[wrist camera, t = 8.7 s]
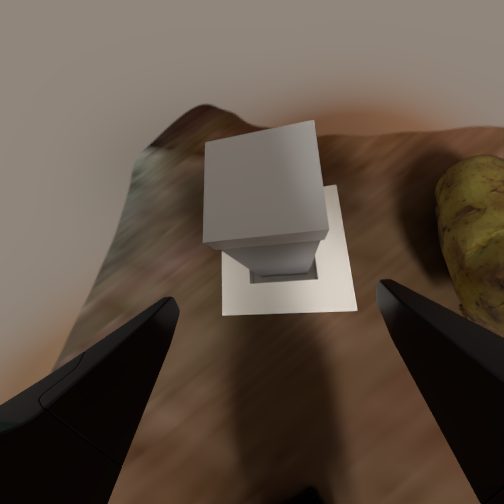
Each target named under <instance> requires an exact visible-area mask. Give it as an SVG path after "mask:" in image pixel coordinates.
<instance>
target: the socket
mask: <svg viewBox="0 0 504 504" xmlns="http://www.w3.org/2000/svg"><path fill="white" fill-rule="evenodd" d="M323 188H324V196H325V203H326V210H327V217H328V224H329V231H328V233H327V236H326V238H325V240H321V241H320V243H319V246H318V248H317V251H316V254H315V256H314V259H313V261H312V264H311V266H310V269H309V272H308V274H301V275H285V276H270V277H260V276H258V275H257V274H255V273H254V272H252V271H251V270H249V269H248V268H246V267H245V266H243V265H242V264H240V263H239V262H238V261H236V260H235V259H233V258H232V257H230V256H229V255H227V254H226V253H224V252H223V251H222V316H225V315H253V314H281V313H310V312H338V311H357V305H356V299H355V293H354V287H353V281H352V275H351V269H350V263H349V257H348V251H347V246H346V240H345V234H344V228H343V222H342V216H341V210H340V204H339V198H338V192H337V186H336V185H331V186H324V187H323Z"/></svg>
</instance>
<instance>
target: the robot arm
mask: <svg viewBox="0 0 504 504" xmlns="http://www.w3.org/2000/svg"><path fill="white" fill-rule="evenodd" d="M376 301H377V303H378V306H379V308H380V311H381V313H382V316H383V318H384V321H385V323H386V326H387V328H388V331H389V333H390V336H391V338H392V340H393V342H394V344H395V346H396V348H397V349H398V351H399V353H400V355H401V357H402V359H403V361H404V362H405V364H406V366H407V368H408V370H409V372H410V374H411V375H412V377H413V379H414V381H415V383H416V385H417V387H418V388H419V390H420V392H421V394H422V396H423V398H424V400H425V401H426V403H427V405H428V407H429V409H430V411H431V412H432V414H433V416H434V418H435V420H436V422H437V424H438V425H439V427H440V429H441V431H442V433H443V435H444V437H445V438H446V440H447V442H448V444H449V446H450V448H451V450H452V451H453V453H454V455H455V457H456V459H457V461H458V463H459V464H460V466H461V468H462V470H463V472H464V474H465V476H466V477H467V479H468V481H469V483H470V485H471V487H472V489H473V490H474V492H475V494H476V496H477V498H478V500H479V502H480V503H481V504H504V338H503V337H501V336H499V335H497V334H495V333H493V332H492V331H490V330H488V329H486V328H484V327H482V326H480V325H478V324H476V323H474V322H472V321H470V320H468V319H467V318H465V317H463V316H461V315H459V314H457V313H455V312H453V311H451V310H449V309H447V308H445V307H443V306H441V305H440V304H438V303H436V302H434V301H432V300H430V299H428V298H426V297H424V296H422V295H420V294H418V293H416V292H414V291H413V290H411V289H409V288H407V287H405V286H403V285H401V284H399V283H397V282H395V281H393V280H391V279H383V280H379V281H378V283H377V291H376ZM179 313H180V310H179V307H178V305H177V303H176V301H175V299H174V298H173V297H164V298H162V299H161V300H159V301H158V302H156V303H155V304H153V305H152V306H150V307H149V308H147V309H146V310H144V311H143V312H142V313H140V314H139V315H137V316H136V317H134V318H133V319H131V320H130V321H128V322H127V323H125V324H124V325H122V326H121V327H120V328H118V329H117V330H115V331H114V332H112V333H111V334H109V335H108V336H106V337H105V338H103V339H102V340H100V341H99V342H97V343H96V344H95V345H93V346H92V347H90V348H89V349H87V350H86V351H84V352H83V353H81V354H80V355H78V356H77V357H75V358H74V359H72V360H71V361H69V362H68V363H66V364H65V365H63V366H62V367H60V368H59V369H57V370H56V371H54V372H53V373H51V374H50V375H48V376H46V377H45V378H43V379H42V380H40V381H38V382H37V383H35V384H34V385H32V386H30V387H29V388H27V389H26V390H24V391H22V392H21V393H19V394H18V395H16V396H14V397H13V398H11V399H10V400H8V401H6V402H5V403H3V404H2V405H0V504H108V501H109V499H110V496H111V494H112V491H113V489H114V486H115V484H116V481H117V478H118V476H119V473H120V471H121V468H122V465H123V463H124V460H125V458H126V455H127V453H128V450H129V448H130V445H131V443H132V440H133V438H134V435H135V433H136V430H137V428H138V425H139V423H140V420H141V418H142V415H143V413H144V410H145V408H146V405H147V403H148V400H149V397H150V395H151V392H152V390H153V387H154V385H155V382H156V380H157V377H158V375H159V372H160V370H161V367H162V365H163V362H164V360H165V357H166V355H167V352H168V350H169V347H170V344H171V341H172V338H173V335H174V331H175V328H176V324H177V321H178V317H179ZM310 496H314V497H315V499H314V500H313V499H311V498H310ZM281 504H325V503H324V501H323V499H322V498H321V496H320V494H319V493H318V491H317V490H316V489H315V488H314V487H309V488H307V489H305V490H304V491H303V492H301V493H300V494H298V495H297V496H295V497H294V498H292V499H291V500H285V501H284V502H282V503H281Z"/></svg>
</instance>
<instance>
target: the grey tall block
mask: <svg viewBox="0 0 504 504" xmlns="http://www.w3.org/2000/svg"><path fill="white" fill-rule="evenodd" d="M328 231H329V224H328V217H327V210H326V203H325V196H324V188H323V181H322V174H321V167H320V160H319V153H318V146H317V138H316V131H315V124H314V120H310V121H305V122H301V123H296V124H291V125H286V126H281V127H276V128H271V129H267V130H262V131H257V132H252V133H248V134H243V135H238V136H233V137H228V138H224V139H219V140H214V141H209V142H205V172H204V213H203V243H204V244H206V245H207V246H209V247H211V248H212V249H214V250H221V251H223V252H224V253H226V254H227V255H229V256H230V257H232V258H233V259H235V260H236V261H238V262H239V263H240V264H242V265H243V266H245V267H246V268H248V269H249V270H251V271H252V272H254V273H255V274H257V275H258V276H260V277H270V276H285V275H301V274H308V272H309V269H310V266H311V264H312V261H313V259H314V256H315V254H316V251H317V248H318V246H319V243H320V241H321V240H325V238H326V236H327V233H328Z"/></svg>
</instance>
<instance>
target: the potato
mask: <svg viewBox="0 0 504 504" xmlns="http://www.w3.org/2000/svg"><path fill="white" fill-rule="evenodd" d="M434 196H435V200H436V203H437V205H436V206H435V214H436V218H437V221H438V233H439V241H440V246H441V250H442V253H443V256H444V259H445V261H446V264H447V267H448V270H449V273H450V277H451V279H452V283H453V286H454V289H455V292H456V294H457V296H458V298H459V300H460V302H461V304H460V305H459V306H460V308H461V309H460V311H461V312H462V314H463V315H464V316H465V318H467V319H468V320H470V321H471V320H473V321H477V322H478V323H480V324H481V325H483V326H484V327H487V328H492V329H494V330H496V331H498V332H500V333H502V334H504V159H502V158H500V157H497V156H494V155H478V156H472V157H469V158H466V159H464V160H461V161H459V162H457V163H456V164H454V165H453V166H451V167H449V168H448V169H446V170H445V171H444V172H443V173H442V174H441V177H440V179H439V181H438V183H437V186H436V188H435V194H434Z"/></svg>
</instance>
